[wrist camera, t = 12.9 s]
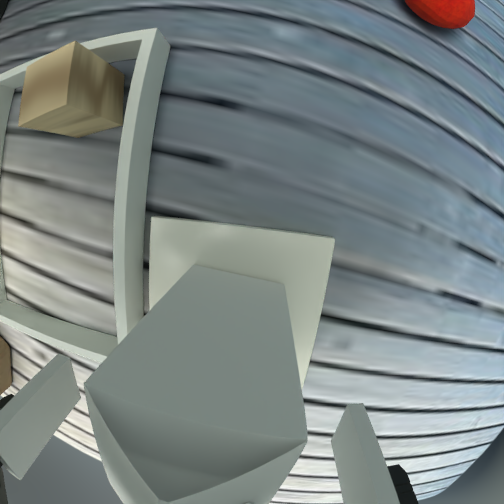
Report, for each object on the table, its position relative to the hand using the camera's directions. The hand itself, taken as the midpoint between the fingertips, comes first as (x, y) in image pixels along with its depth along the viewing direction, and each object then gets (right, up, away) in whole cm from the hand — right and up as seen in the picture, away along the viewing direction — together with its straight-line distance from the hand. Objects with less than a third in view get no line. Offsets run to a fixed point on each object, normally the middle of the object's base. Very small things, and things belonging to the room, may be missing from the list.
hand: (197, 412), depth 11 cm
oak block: (-11, +20, +9) cm, 25 cm away
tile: (+1, +2, +12) cm, 13 cm away
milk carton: (+1, +2, +11) cm, 12 cm away
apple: (+19, +32, +5) cm, 37 cm away
